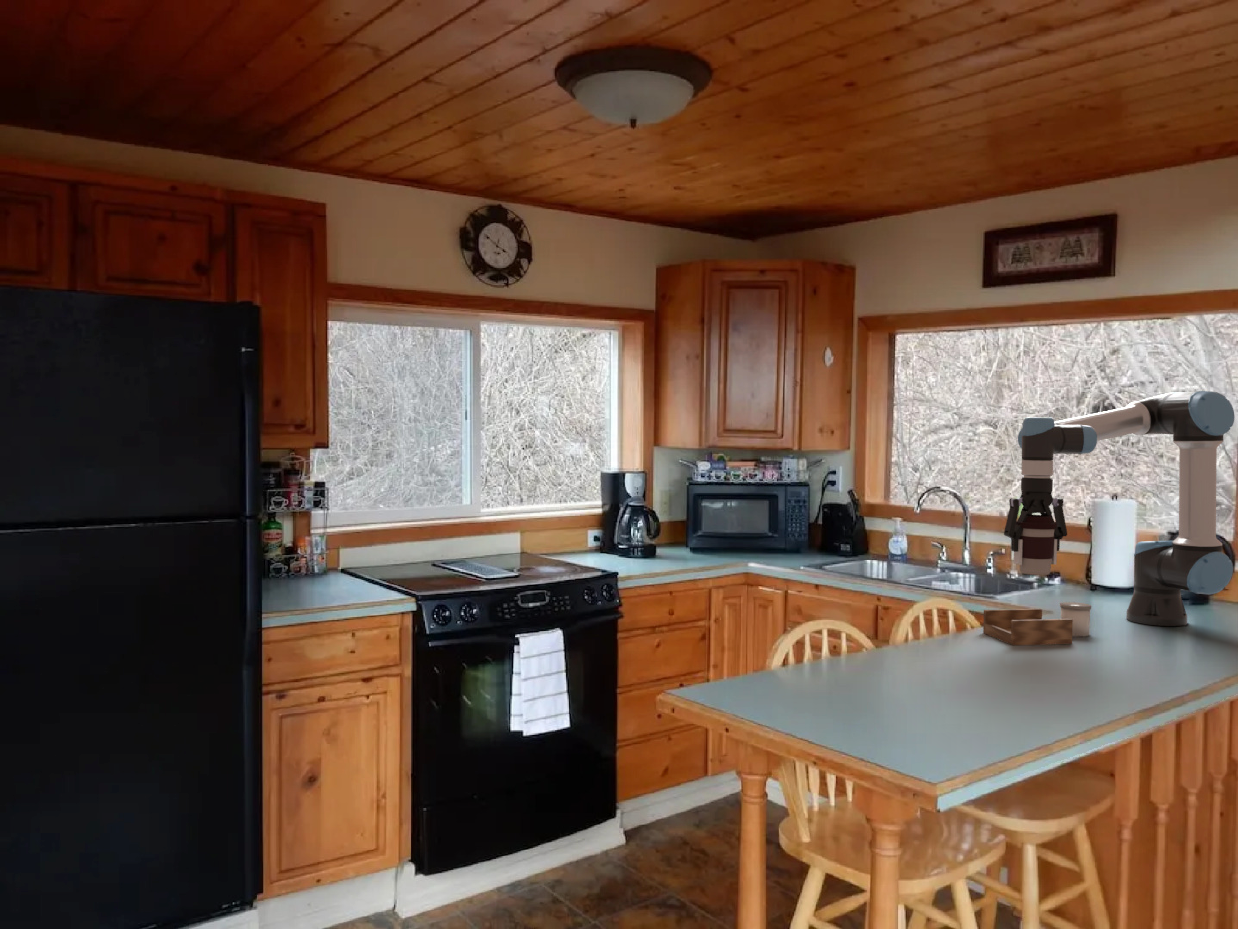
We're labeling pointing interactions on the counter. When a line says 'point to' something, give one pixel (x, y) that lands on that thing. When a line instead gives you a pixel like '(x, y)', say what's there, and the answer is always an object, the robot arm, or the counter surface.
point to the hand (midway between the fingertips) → (1034, 563)
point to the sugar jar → (1077, 617)
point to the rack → (1026, 627)
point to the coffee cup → (1037, 544)
